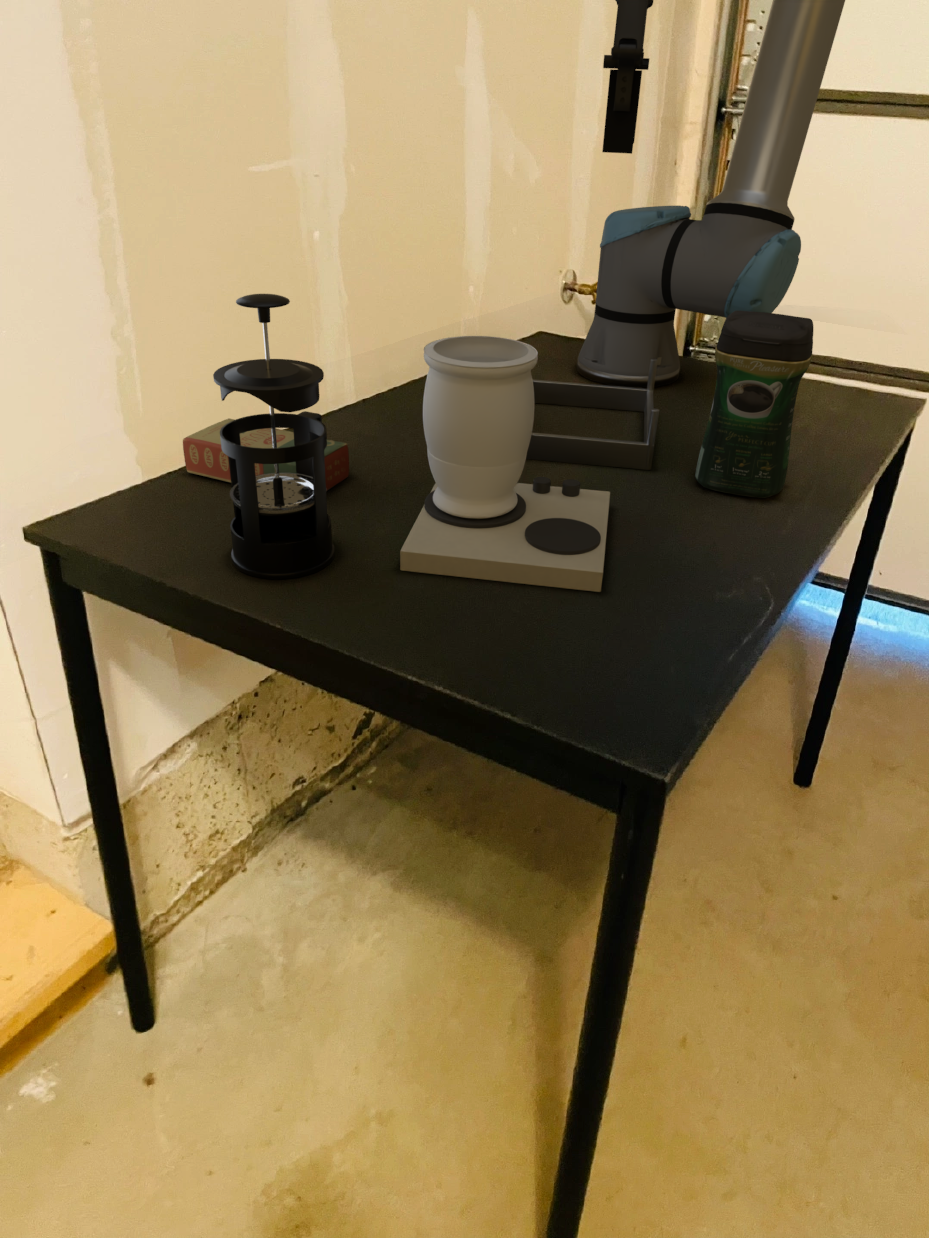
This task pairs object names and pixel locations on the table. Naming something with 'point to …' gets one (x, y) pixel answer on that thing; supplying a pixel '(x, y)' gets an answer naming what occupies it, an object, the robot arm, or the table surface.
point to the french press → (277, 496)
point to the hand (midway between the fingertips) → (619, 148)
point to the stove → (518, 539)
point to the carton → (213, 463)
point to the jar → (478, 421)
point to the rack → (597, 448)
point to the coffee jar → (754, 402)
